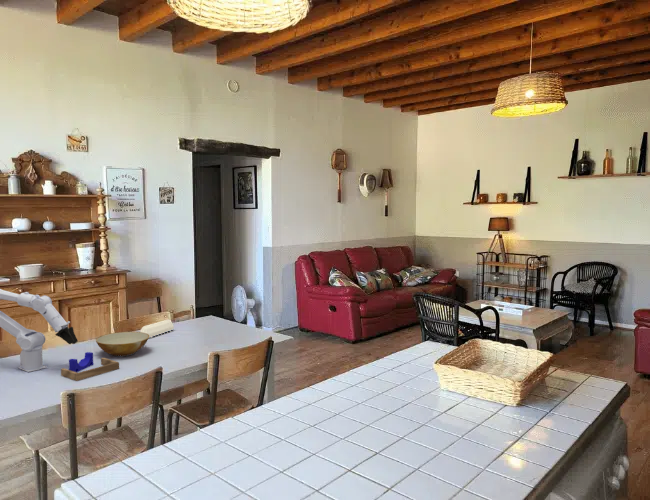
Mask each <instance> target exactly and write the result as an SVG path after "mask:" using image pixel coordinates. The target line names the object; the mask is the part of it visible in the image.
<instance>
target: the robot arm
mask: <svg viewBox="0 0 650 500" xmlns="http://www.w3.org/2000/svg"><path fill="white" fill-rule="evenodd" d="M0 300H5V301H10V302H11V301H12V302H16V303H17V305H18V306H21V307H27V308H31V309H32V310H33V311H36V312H38V313H39V314H40V315H41V316H42V317H43V318H44V319H45V321H46V322H47V323H48V324H49V325H50V327H51V328H52V329H53V331H54V333H55V334H54V335H55V336H57V337H59V338H60V339H62V340H63V341H65V342H66V343H67V344H68V345H71V344H72V345H75V344H77V342H79V341H78V338H77V336H76V334H75V331H74V327H73V326H70V327H69V325H70V323H71V321H69V320H68V321H66V320H65V318H64V317H63V316H62V314H60V312H59V311H58V310H57V309H56V308H55V306H54V305H53V301H52V298H51V297H50V296H48V295H39V294H32V293H30V292H29V291H25V292H21V293H20V294H19V293H16V292H15V293H14V292H12V291H8V290H3V289H2V288H0ZM0 328H1V329H3V330H4V331H6V333H8V334H10V335H11V336H13V337H15V339H16V340H15V343H16V344H17V345H18V346H19V347H20V348H21V351H20V354H19V358H20V359H19V361H20V366H18V367H17V368H18V369H20V370H22V371H25V372H27V373H31V372H35V371H39V370H43V369H46V368H47V367H48V366H47V365H44V364H43V346H44V344H45V343H46V336H45V335H44V333H43V332H40V331H36V330H34V329H30V328H26V327H25V326H23V325H22V324H20V323H19V322H18V321H16V320H15V319H13V318H12V317H11V316H9V315H7V314H6V313H4V312H3V311H1V310H0Z"/></svg>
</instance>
